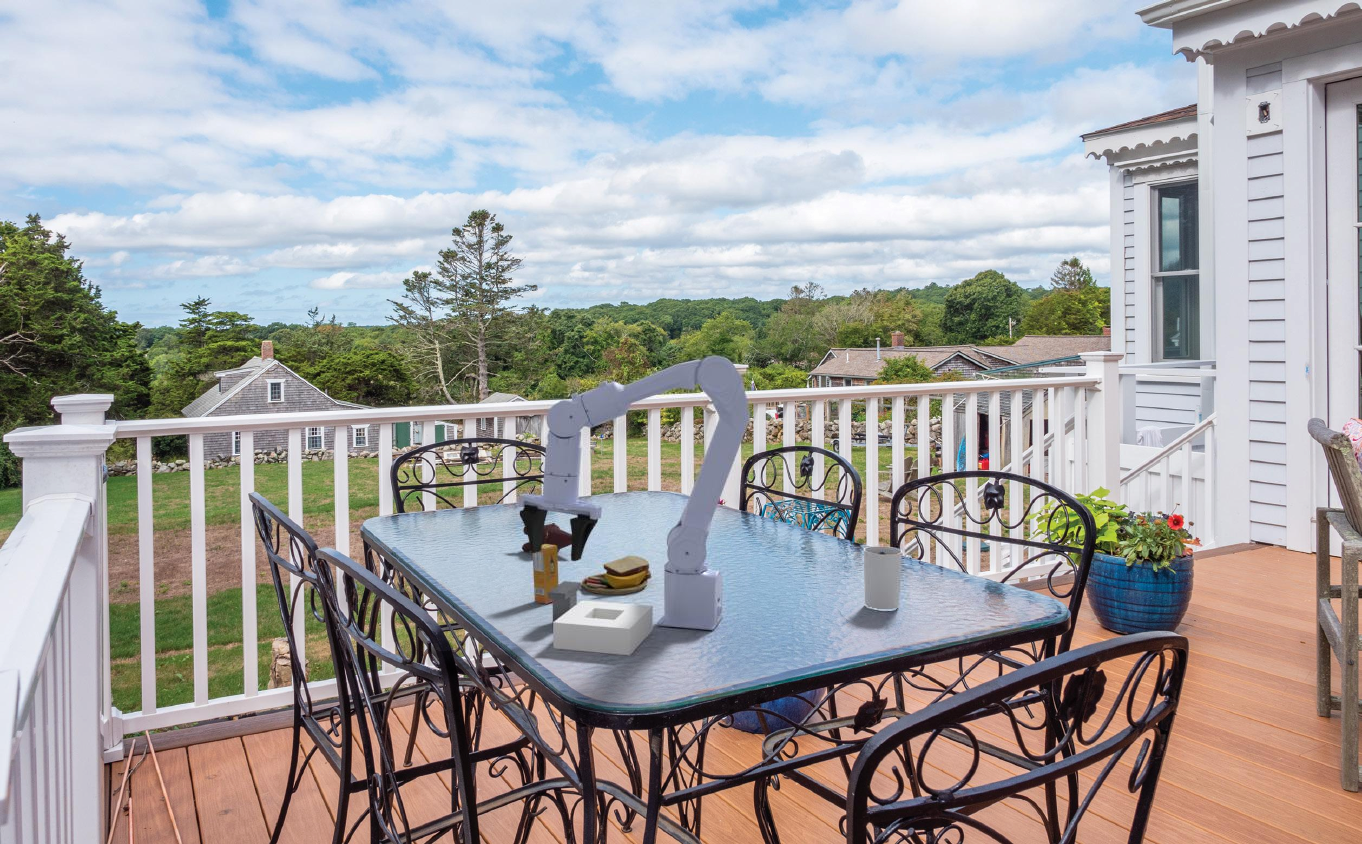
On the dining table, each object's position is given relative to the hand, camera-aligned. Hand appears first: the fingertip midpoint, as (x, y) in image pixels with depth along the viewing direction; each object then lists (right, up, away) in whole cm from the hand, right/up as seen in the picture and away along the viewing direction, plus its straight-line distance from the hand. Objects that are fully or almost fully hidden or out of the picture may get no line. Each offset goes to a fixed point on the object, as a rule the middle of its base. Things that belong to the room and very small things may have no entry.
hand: (555, 555), depth 147 cm
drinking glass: (+56, -11, +10) cm, 58 cm away
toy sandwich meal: (+8, -10, +24) cm, 27 cm away
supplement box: (-4, -10, +13) cm, 17 cm away
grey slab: (+1, -11, 0) cm, 11 cm away
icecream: (-8, -7, +49) cm, 50 cm away
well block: (+9, -12, -8) cm, 17 cm away
